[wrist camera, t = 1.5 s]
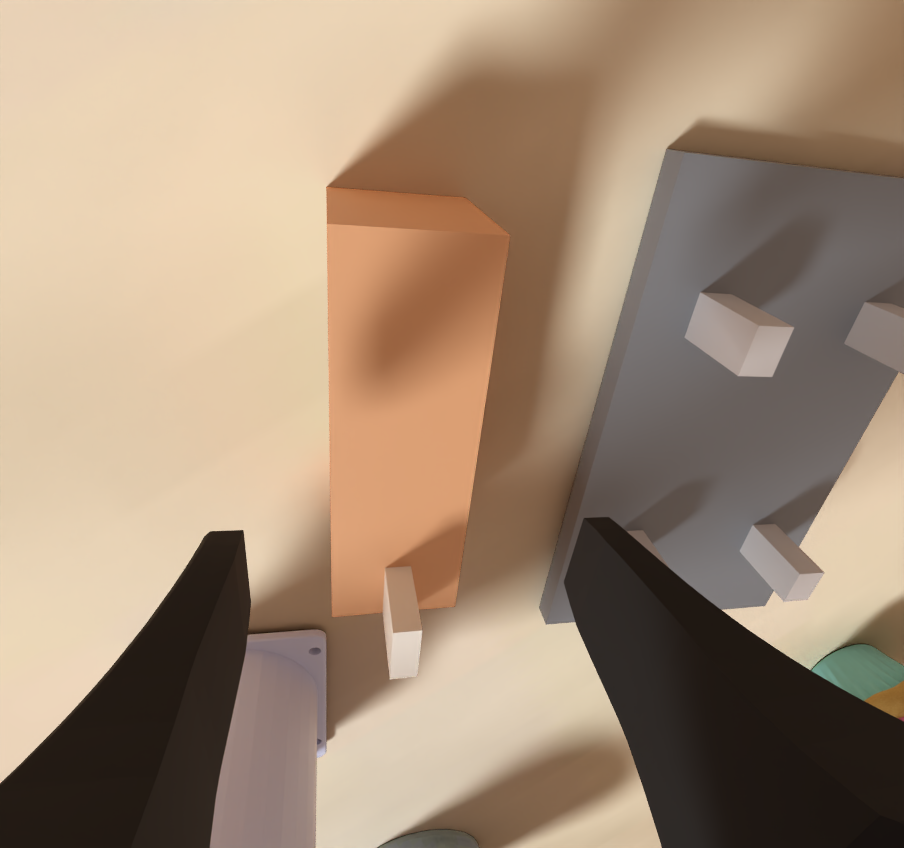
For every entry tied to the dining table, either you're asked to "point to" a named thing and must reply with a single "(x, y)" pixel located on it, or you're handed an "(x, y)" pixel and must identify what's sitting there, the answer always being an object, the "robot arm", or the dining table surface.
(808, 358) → the grey pegged plate
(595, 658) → the robot arm
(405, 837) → the drinking glass
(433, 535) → the long tan brick
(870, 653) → the cupcake
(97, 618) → the dining table surface
